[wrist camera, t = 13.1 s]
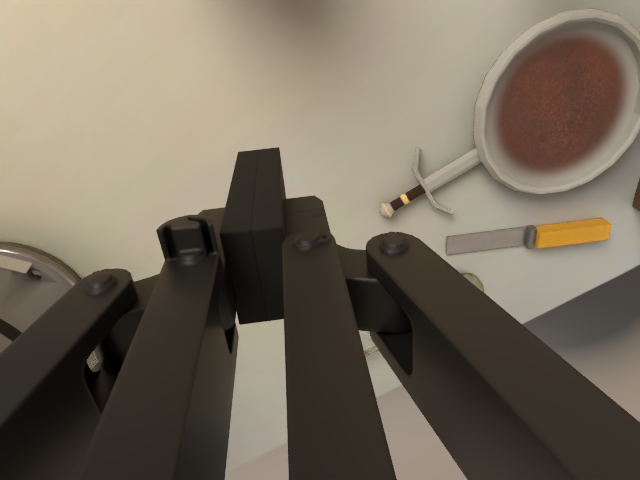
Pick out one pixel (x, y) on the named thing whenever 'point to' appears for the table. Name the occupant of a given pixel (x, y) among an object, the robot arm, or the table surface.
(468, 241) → the knife
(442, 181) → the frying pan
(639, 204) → the wooden block
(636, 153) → the table surface
